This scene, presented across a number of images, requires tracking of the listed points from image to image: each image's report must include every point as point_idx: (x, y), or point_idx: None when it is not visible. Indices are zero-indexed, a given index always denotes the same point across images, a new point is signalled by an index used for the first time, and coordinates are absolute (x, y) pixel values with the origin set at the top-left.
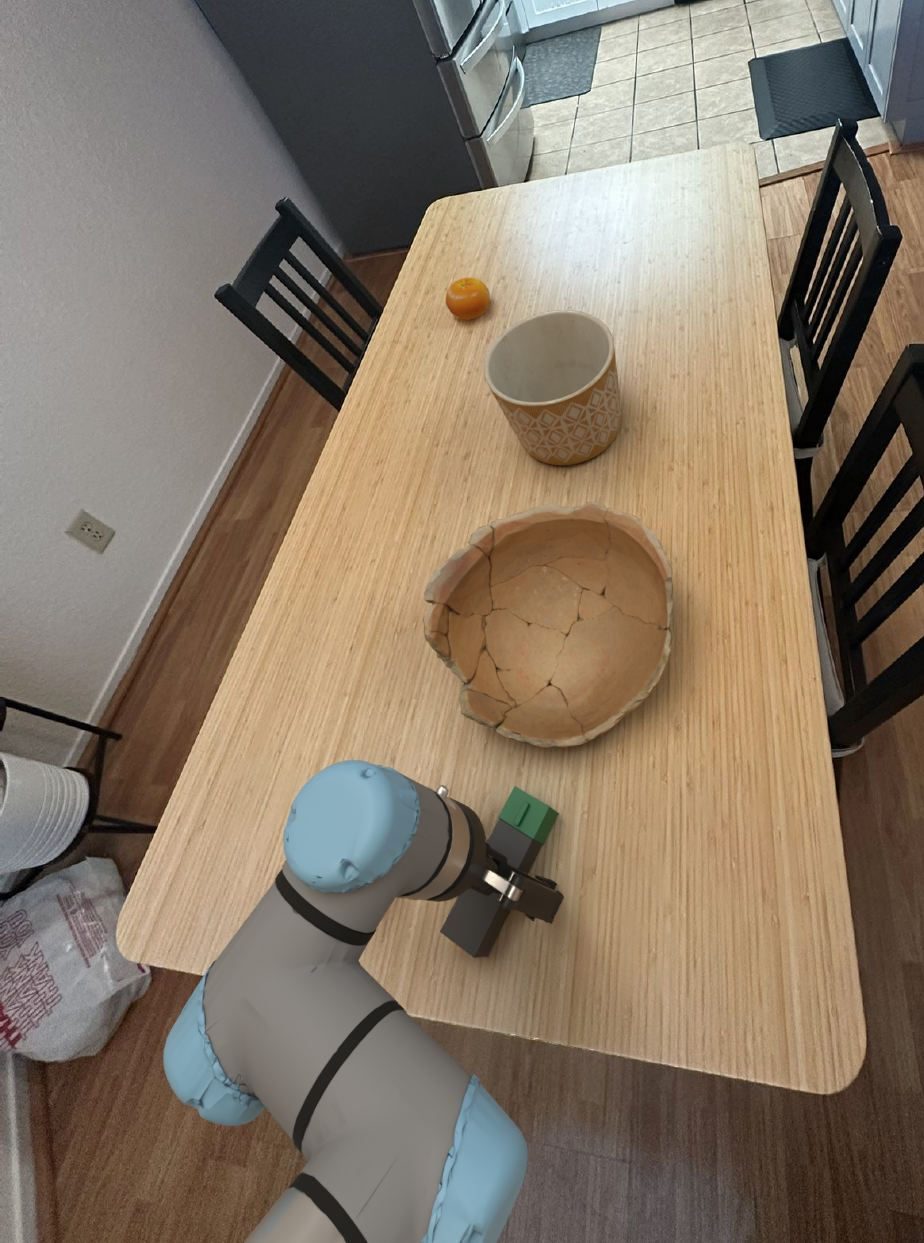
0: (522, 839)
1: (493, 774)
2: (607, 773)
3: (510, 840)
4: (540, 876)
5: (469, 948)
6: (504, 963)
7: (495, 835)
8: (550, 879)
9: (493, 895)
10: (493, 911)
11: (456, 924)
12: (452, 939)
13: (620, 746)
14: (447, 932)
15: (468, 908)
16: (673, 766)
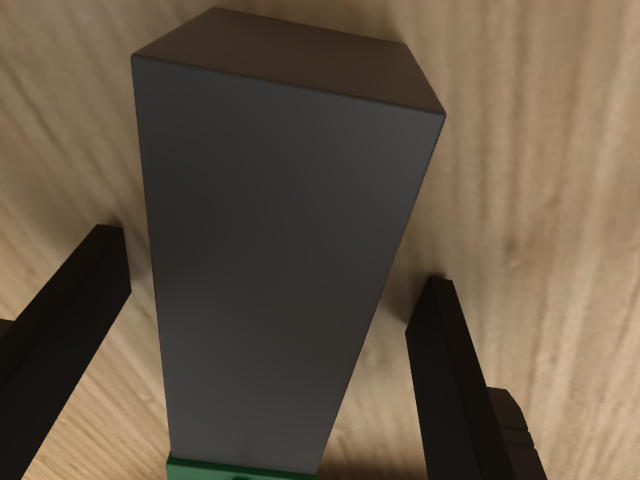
0: (205, 452)
1: (410, 417)
2: (147, 449)
3: (244, 445)
4: (51, 424)
5: (194, 93)
6: (131, 9)
7: (304, 449)
8: (122, 303)
9: (209, 324)
10: (171, 279)
11: (342, 180)
12: (335, 102)
13: (151, 477)
14: (388, 124)
15: (305, 259)
16: (39, 469)
